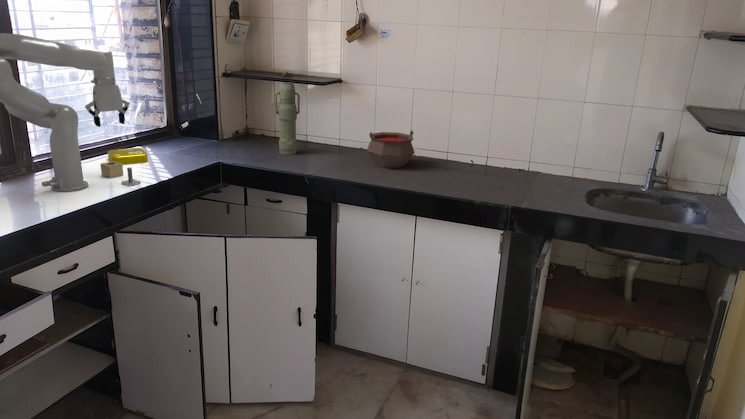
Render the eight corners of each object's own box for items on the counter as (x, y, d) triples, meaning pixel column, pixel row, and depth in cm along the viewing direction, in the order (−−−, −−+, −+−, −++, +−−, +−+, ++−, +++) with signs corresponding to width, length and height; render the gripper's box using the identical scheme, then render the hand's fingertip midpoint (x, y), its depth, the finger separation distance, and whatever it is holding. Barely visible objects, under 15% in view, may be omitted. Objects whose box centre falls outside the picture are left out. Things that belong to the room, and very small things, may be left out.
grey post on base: (129, 186, 220) (127, 170, 217) (121, 183, 222) (119, 168, 220) (140, 183, 224) (138, 167, 221) (132, 181, 226) (131, 165, 224)
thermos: (301, 154, 281) (301, 83, 270) (277, 155, 278) (276, 83, 267) (298, 151, 289) (298, 81, 278) (275, 151, 286) (274, 81, 275)
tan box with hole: (110, 178, 230) (108, 166, 228) (101, 175, 233) (100, 163, 231) (123, 175, 234) (122, 163, 233) (115, 172, 237) (113, 161, 236)
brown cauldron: (401, 157, 284) (403, 125, 279) (423, 168, 264) (426, 134, 258) (357, 160, 275) (358, 127, 270) (376, 172, 255) (378, 136, 249)
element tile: (142, 156, 268) (141, 146, 266) (149, 163, 256) (148, 153, 254) (108, 159, 260) (106, 149, 259) (113, 166, 248) (112, 156, 247)
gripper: (86, 84, 213) (92, 128, 219) (130, 81, 226) (135, 123, 231) (78, 82, 218) (84, 125, 223) (122, 79, 230) (126, 121, 236)
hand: (110, 124), depth 227 cm, fingers open, 9 cm apart
